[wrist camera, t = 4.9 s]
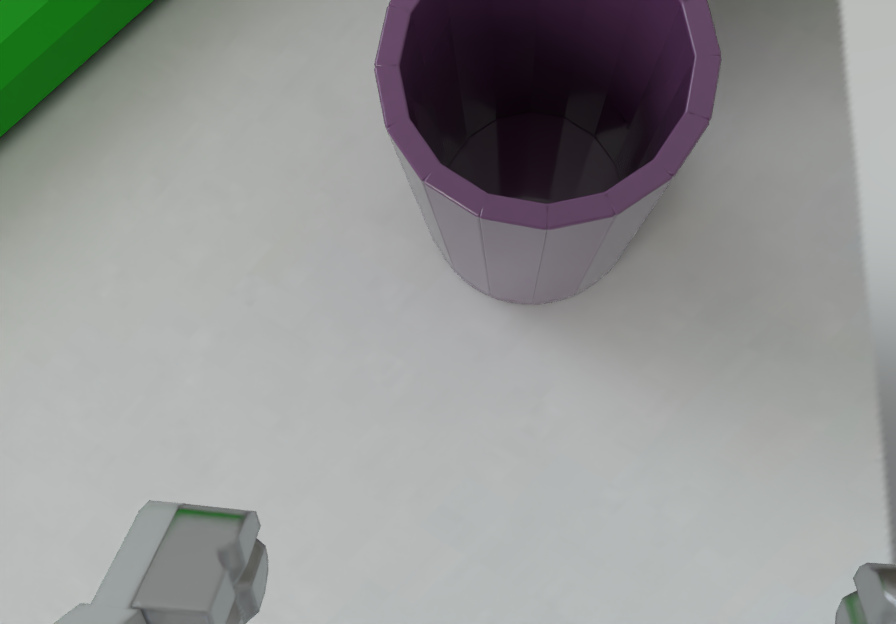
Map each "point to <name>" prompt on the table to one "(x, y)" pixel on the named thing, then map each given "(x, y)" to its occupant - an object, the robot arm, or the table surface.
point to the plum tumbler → (543, 128)
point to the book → (51, 45)
